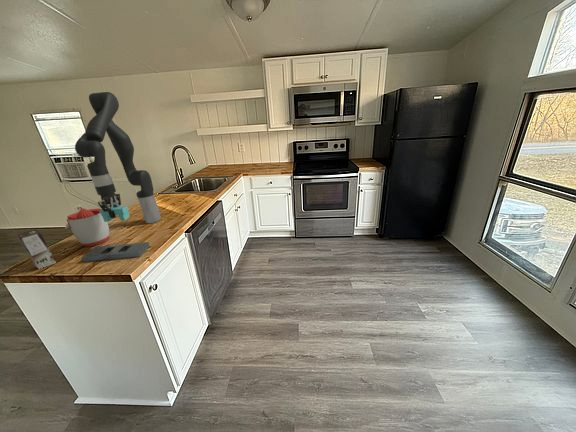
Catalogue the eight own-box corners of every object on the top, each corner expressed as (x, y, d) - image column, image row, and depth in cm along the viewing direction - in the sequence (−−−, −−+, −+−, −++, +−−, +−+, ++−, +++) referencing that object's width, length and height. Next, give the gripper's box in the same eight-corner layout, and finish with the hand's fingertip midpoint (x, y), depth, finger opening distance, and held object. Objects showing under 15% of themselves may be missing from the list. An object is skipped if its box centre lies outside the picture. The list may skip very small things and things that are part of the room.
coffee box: (57, 262, 110) (41, 232, 104) (38, 269, 105) (20, 238, 99) (51, 258, 114) (35, 228, 108) (33, 264, 109) (15, 234, 103)
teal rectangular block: (109, 218, 121) (104, 207, 119) (130, 216, 122) (126, 206, 120) (103, 221, 117) (99, 211, 115) (125, 220, 118) (121, 209, 115)
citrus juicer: (74, 243, 128) (59, 209, 121) (112, 232, 138) (99, 201, 131) (74, 253, 117) (56, 217, 109) (115, 241, 127) (101, 207, 119)
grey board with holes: (98, 251, 118) (96, 246, 117) (149, 246, 119) (148, 242, 118) (83, 262, 108) (81, 257, 108) (139, 256, 110) (138, 252, 109)
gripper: (105, 181, 119) (117, 211, 125) (85, 188, 106) (99, 222, 112) (120, 179, 119) (131, 210, 126) (101, 187, 106) (115, 221, 113)
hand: (116, 216), depth 119 cm, fingers closed on teal rectangular block, 4 cm apart
